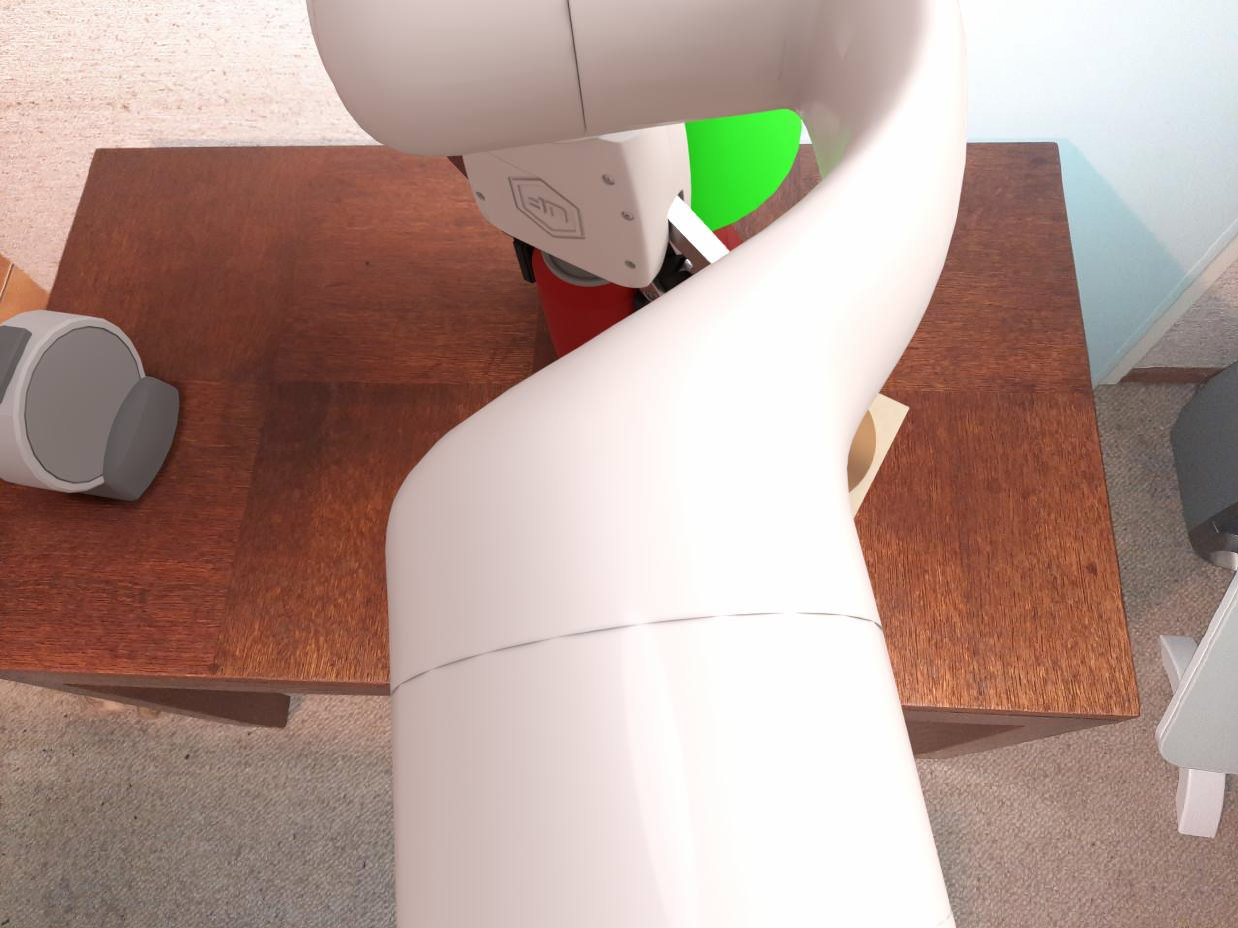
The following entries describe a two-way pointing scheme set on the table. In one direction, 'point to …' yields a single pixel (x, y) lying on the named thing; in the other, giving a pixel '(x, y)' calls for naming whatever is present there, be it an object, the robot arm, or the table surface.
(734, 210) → the table lamp
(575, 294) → the beverage can
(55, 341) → the alarm clock
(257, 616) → the table surface
